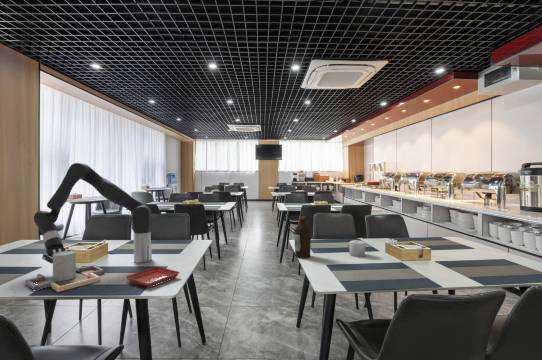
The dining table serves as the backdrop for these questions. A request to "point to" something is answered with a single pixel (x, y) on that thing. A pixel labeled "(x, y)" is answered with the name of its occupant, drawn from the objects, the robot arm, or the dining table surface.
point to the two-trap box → (88, 271)
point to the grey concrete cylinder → (64, 265)
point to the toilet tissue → (357, 248)
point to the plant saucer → (152, 276)
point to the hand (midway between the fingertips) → (60, 268)
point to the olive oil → (302, 239)
